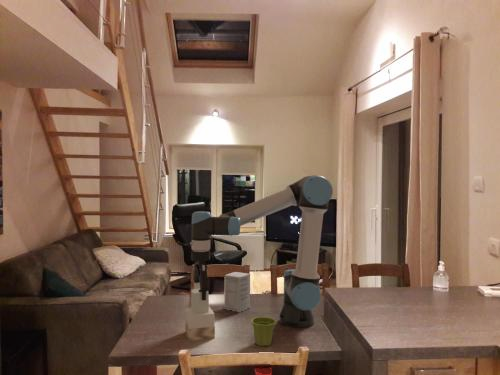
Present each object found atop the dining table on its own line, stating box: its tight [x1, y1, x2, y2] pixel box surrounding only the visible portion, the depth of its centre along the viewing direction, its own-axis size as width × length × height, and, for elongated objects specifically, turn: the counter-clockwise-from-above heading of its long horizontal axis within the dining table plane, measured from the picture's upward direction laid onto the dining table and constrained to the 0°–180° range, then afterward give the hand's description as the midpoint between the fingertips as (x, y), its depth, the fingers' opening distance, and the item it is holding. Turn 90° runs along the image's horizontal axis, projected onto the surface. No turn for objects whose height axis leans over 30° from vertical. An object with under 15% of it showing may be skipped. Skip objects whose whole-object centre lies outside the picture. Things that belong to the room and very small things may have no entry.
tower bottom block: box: [185, 322, 216, 342], centre depth 162 cm, size 10×10×5 cm
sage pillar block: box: [190, 288, 210, 314], centre depth 162 cm, size 6×6×8 cm
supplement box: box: [224, 271, 251, 313], centre depth 196 cm, size 10×9×17 cm
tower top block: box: [184, 305, 216, 329], centre depth 162 cm, size 10×10×5 cm
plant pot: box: [251, 316, 277, 347], centre depth 154 cm, size 9×9×9 cm
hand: (200, 303), depth 162 cm, fingers open, 13 cm apart
